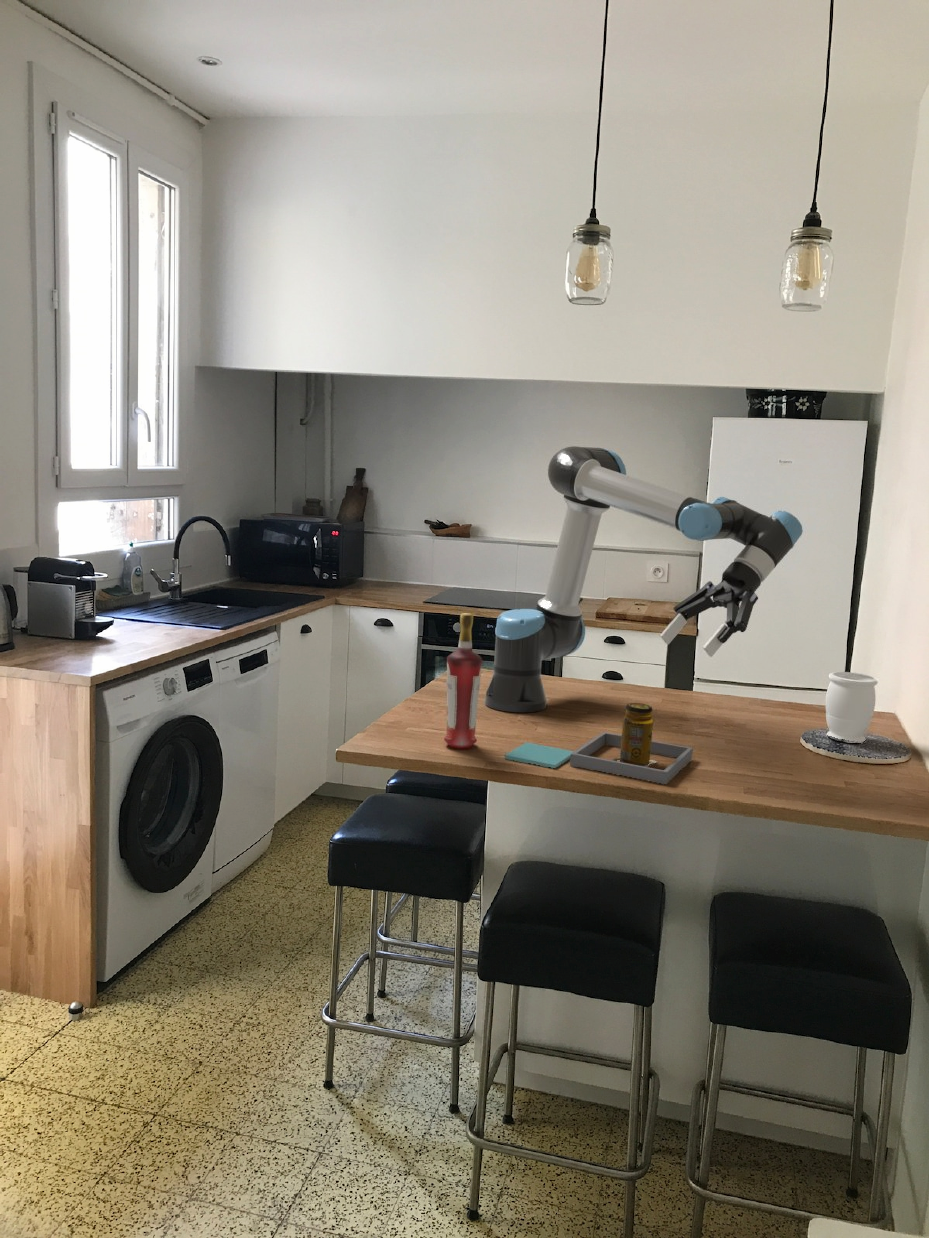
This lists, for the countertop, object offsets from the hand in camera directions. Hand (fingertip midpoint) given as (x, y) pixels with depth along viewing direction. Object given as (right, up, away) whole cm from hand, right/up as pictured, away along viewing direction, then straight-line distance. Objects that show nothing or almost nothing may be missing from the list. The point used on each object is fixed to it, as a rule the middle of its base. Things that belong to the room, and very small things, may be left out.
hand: (684, 646), depth 199 cm
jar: (+43, -23, +25) cm, 55 cm away
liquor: (-46, -21, +5) cm, 51 cm away
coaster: (-30, -23, 0) cm, 37 cm away
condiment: (-11, -24, -1) cm, 26 cm away
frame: (-11, -24, -1) cm, 26 cm away
